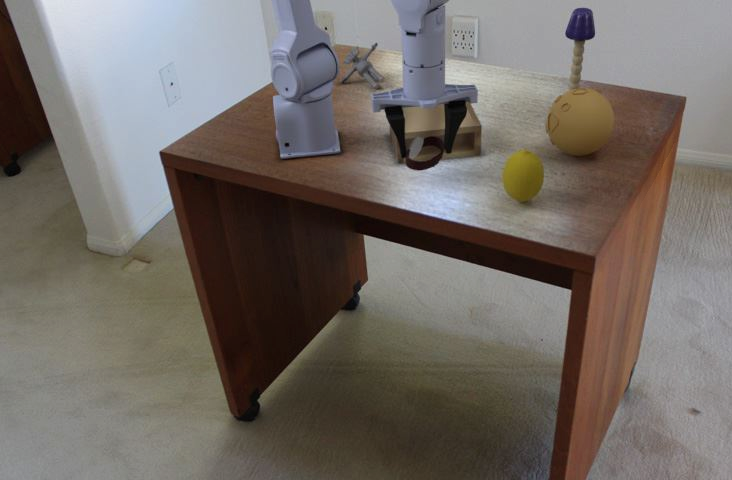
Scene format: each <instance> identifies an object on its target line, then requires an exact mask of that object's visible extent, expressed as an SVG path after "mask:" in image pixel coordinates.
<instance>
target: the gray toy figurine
mask: <svg viewBox="0 0 732 480" xmlns="http://www.w3.org/2000/svg"><path fill="white" fill-rule="evenodd" d="M378 44H379V43H378V42H375V43H374V44H371V48H369V50H368V51H366V52H365V53H364V54H363V55H361V56H360V57H358V56H359V55H360V49H359V45H357V46H355V47H353V49H352V50H350V51H348V53H347V56H346V57H345V58H344V59H343V60H342V64H347V65H350V64H352V63H353V64H352V65H351V68H350V69H349V71H348V72H347V74H346V75H345V76H344V77H341V80H340V84H344V83H345V82H347V81H348V79H349V78H350V77H351V76H352V75H353V74H354V73H355V72H357V74H358V75H359V77H361V78H364V79H365V80H366V81H367V82H368V83H369V84H370V85H371V86H372V87H373V88H374V90H378V89H379V88H380V85H379V83H378V82H377V81H376V80H378V81H379V82H380V83H384V82H385V80H386V79H385V77H384V76H383V75H382V74H381V73H380V72H378V70H376V68H374V65H373V63H372V62H371V61H369V60H368V58H369V57H370V55H371V54H372V53H373V52H374V51H375V50H376V49H377V47H378V46H379V45H378Z"/></svg>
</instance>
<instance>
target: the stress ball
mask: <svg viewBox="0 0 732 480" xmlns="http://www.w3.org/2000/svg"><path fill="white" fill-rule="evenodd" d="M544 126H545V132H546V134H547V135H548V137H549V139H548V140H549V142H550V143H551V144H552V146H555V148H557V149H558V150H559V151H561V152H563V153H565V154H567V155H570V156H575V157H576V156H577V157H578V156H587V155H591V154H593V153H595V152H597V151H598V150H600V149H601V148H602V147H604V145H606V144H607V142H608V141H609V140H610V137H611V136H612V134H613V132H614V126H615V114H614V110H613V107H612V105H611V103H610V102H609V100H608V99H607V97H605V96H604V95H603V94H601V91H600V90H598V89H597V88H594V87H590V86H587V87H586V88H584V87H579V88H578V89H573V90H570V91H569V90H568V91H566V92H564V93H563V94H560V95H559V96H558V97H556V98H555V100H554V101H553V103H552V104H551V106H550V108H549V110H548V113H547V116H546V122H545V125H544Z"/></svg>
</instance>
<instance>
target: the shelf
mask: <svg viewBox="0 0 732 480" xmlns="http://www.w3.org/2000/svg"><path fill="white" fill-rule="evenodd" d="M466 107H467V114H466V117H465V118H464V120H463V122H462V123H461V125H460V127H459V129H458V132H457V134H456V137H455V140H454V143H453V147H452V153H451V154H447V153H446V151H445V148H444V152H443V156H442V158H441V160H445V159H447V160H448V159H455V158H458V159H459V158H466V157H478V156H481V155H482V130H483V129H482V126H483V125H482V123H481V121H480V120H479V117H478V115H477V114H476V111H475V109H474V107H473V105H472V104H471V103H469V102H466ZM402 109H403V113H404V118H405V144H406V153H407V151H408V150H409V147H410V145H411V143H412V142H413V141H414V139H415V138H417V137H419V138H422V139H423V138H426V137H430V136H435V137H438V138H440V139H441V140H442V141H443V142H444V133H445V112H444V104H439V105H436V107H434V108H421V107H420V106H418V107H407V108H402ZM389 135H390V140H391V144H392V147H393V151H394V156H395V159H396V161H397V164H405V160H406V158H401V154H400V149H399V143H398V141H397V138H396V136H395V133H394V131H393V129H392V128H391V126H390V125H389ZM439 153H441V151H440V149H439V148H437V147H435V146H425V147H423V148H421V150H420V152H419V153H418V154H417V156H416V157H414V158H412V160H414V161H427V160H431V159H432V158H433V157H435V156H437V155H438V154H439ZM410 159H411V158H410Z"/></svg>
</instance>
